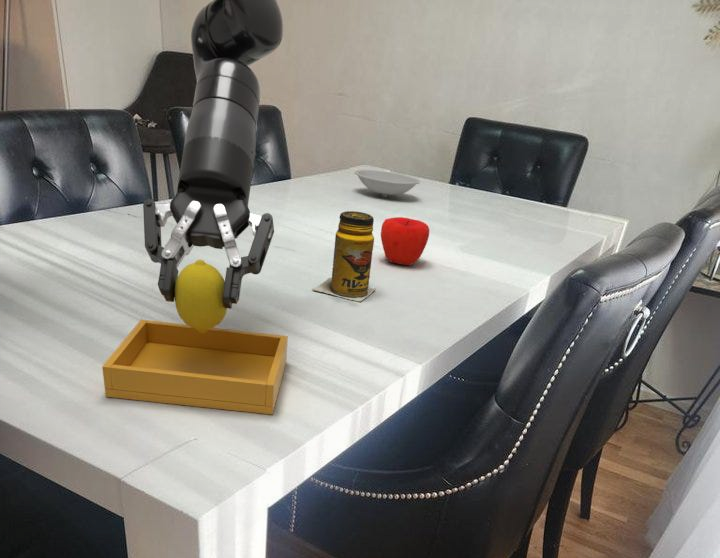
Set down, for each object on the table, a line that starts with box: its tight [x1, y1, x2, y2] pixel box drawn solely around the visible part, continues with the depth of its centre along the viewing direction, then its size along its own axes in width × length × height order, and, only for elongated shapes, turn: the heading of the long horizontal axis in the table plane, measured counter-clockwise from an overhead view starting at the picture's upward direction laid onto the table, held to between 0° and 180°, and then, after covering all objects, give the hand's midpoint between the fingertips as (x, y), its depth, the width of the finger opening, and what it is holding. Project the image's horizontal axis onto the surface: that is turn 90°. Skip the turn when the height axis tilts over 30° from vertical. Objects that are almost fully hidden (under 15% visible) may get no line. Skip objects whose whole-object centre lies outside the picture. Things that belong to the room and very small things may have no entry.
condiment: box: [311, 210, 377, 302], centre depth 102 cm, size 7×8×12 cm
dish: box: [354, 169, 421, 198], centre depth 172 cm, size 18×14×5 cm
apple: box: [380, 216, 430, 266], centre depth 120 cm, size 9×9×8 cm
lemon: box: [174, 259, 228, 333], centre depth 69 cm, size 6×6×8 cm
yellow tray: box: [101, 319, 289, 415], centre depth 73 cm, size 18×14×4 cm
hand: (197, 301), depth 67 cm, fingers closed on lemon, 5 cm apart
